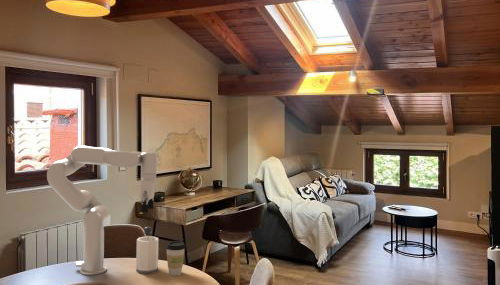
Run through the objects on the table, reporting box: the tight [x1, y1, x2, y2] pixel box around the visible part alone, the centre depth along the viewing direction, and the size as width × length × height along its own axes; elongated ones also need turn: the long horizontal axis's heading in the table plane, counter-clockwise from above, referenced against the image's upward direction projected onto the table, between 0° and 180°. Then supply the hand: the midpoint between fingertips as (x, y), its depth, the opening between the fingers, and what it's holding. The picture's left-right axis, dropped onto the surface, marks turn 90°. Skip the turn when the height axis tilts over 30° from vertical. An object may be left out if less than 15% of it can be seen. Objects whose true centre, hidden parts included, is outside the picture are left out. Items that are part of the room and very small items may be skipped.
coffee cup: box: [165, 240, 187, 277], centre depth 208 cm, size 10×10×15 cm
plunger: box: [143, 226, 152, 241], centre depth 212 cm, size 7×7×18 cm
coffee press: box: [135, 235, 159, 275], centre depth 213 cm, size 11×13×16 cm
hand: (147, 210), depth 211 cm, fingers open, 9 cm apart
